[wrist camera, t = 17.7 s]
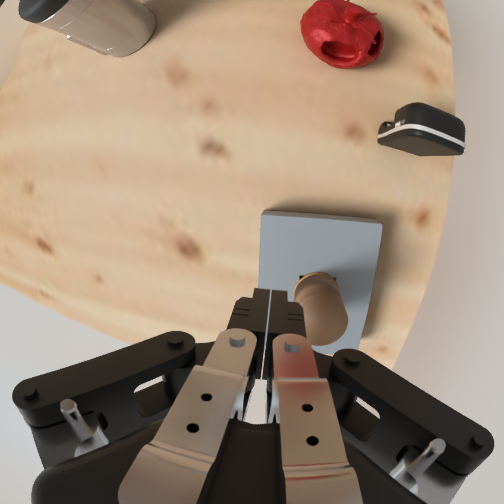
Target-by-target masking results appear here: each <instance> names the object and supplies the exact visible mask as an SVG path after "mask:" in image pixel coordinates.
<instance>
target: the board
mask: <svg viewBox="0 0 504 504" xmlns="http://www.w3.org/2000/svg"><path fill="white" fill-rule="evenodd" d="M382 227H383V224H382V223H380V222H379V221H377V220H376V219H371V218H361V217H350V216H339V215H327V214H314V213H300V212H285V211H268V210H264V211H263V213H262V214H261V228H260V254H259V279H258V288H262V289H270V298H269V308H268V318H267V327H266V336H265V345H264V350H265V349H266V340H267V330H268V321H269V312H270V302H271V293H272V290H283V291H288V301H289V302H294V289H295V286H296V284H297V282H298V281H299V277H300V275H302V276H305V275H307V274H310V273H314V272H321V273H325V274H328V275H330V276H331V277H332V278H333V279H334V280H335V281H336V283H337V284H338V287H339V291H340V294H341V297H342V300H343V303H344V306H345V309H346V312H347V315H348V326H347V329H346V331H345V333H344V334H343V335H342V336H341V337H340V338H339V339H338V340H337V341H335V342H333V343H331V344H328V345H324V346H314V345H311V346H312V349H313V350H315V351H316V352H318V353H321V354H334V353H335V352H336V351H338V350H340V349H346V348H350V349H356V350H358V347H359V344H360V340H361V336H362V332H363V328H364V324H365V320H366V316H367V312H368V307H369V303H370V298H371V293H372V288H373V283H374V278H375V273H376V267H377V261H378V255H379V249H380V242H381V235H382Z"/></svg>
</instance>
